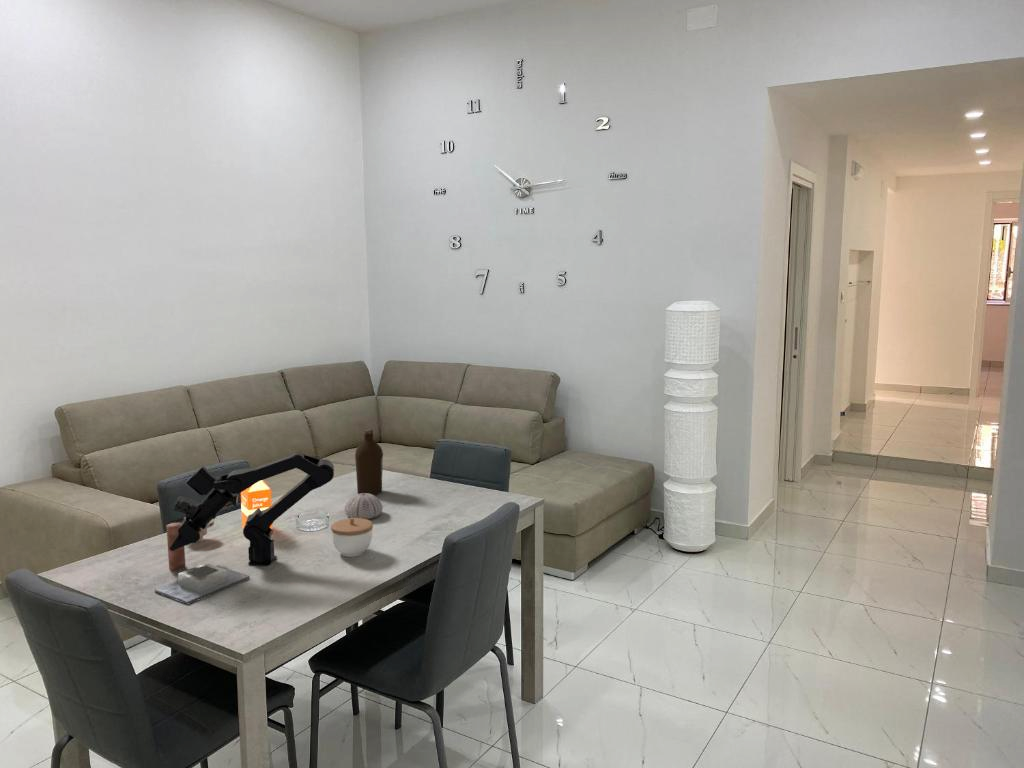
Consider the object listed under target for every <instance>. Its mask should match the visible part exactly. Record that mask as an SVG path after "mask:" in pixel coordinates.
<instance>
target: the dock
mask: <svg viewBox="0 0 1024 768" xmlns="http://www.w3.org/2000/svg"><path fill="white" fill-rule="evenodd" d="M247 579H248V580H250V579H251V578H250V575H247V574H245V573H242V572H238V571H235V570H232V569H229V568H226V567H223V566H221V565H218V564H217V565H214V564H210V563H208V562H205V563H202V564H199V565H197V566H194V567H192V568H189V569H187V570H184V571H183V570H182V571H181V572H179V573H177V580H176V581H173V582H171V583H168V584H166V585H163V586H160V587H158V588H155V589H154V593H155V592H157V593H156V594H158V593H159V594H158V595H161V594H163V595H165V596H164V597H166V596H168V597H167V598H169V597H170V598H169V599H171V598H174V599H177V600H179V601H182V602H184V603H186V604H185V605H187V604H188V603H190V604H192V603H191V602H193V601H195V602H197V601H196V600H198V599H200V600H202V599H205V598H207V597H209V595H210V596H211V595H214V594H216V593H219V592H222V591H224V590H226V589H228V588H230V587H233V586H235V585H238V584H240V583H242V582H245V581H248V580H247ZM163 595H162V596H163ZM204 597H205V598H204ZM201 598H202V599H201ZM174 599H173V600H174ZM179 601H178V602H179ZM198 601H199V600H198ZM182 602H181V603H182ZM184 603H183V604H184ZM193 603H194V602H193ZM188 605H189V604H188Z"/></svg>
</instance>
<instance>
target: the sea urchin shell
mask: <svg viewBox="0 0 1024 768" xmlns="http://www.w3.org/2000/svg"><path fill="white" fill-rule="evenodd" d="M344 512H345V515H346V516H347V518H362V519H367V520H371V519H374V518H377V517H379V516H380V515H381V514H382V512H383V505H382V502H381V500H380V499H379V498H378V497H377V495H372V494H368V493H361V494H358V493H357V494H356V495H353V496H352V497H351V498H349V500H347V502H346V504H345V506H344Z"/></svg>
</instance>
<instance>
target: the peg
mask: <svg viewBox="0 0 1024 768" xmlns="http://www.w3.org/2000/svg"><path fill="white" fill-rule="evenodd" d="M182 523H183V522H171V523H169V524H166V537H167V539H166V540H167V541H166V542H167V555H168V570H169V569H170V570H169V571H172V570H177V571H180V570H179V569H182V570H183V568H184V569H185V568H186V554H185V553H186V551H185V546H183V547H181V548H178V549H176V550H173V551H171V550H170V549H169V548H170V547H171V545H172V544H173V542H174V541H175V539H176V538H177V537H178V535H179V534H178V528H179V526H180V525H181V524H182Z"/></svg>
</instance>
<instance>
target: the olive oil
mask: <svg viewBox="0 0 1024 768" xmlns="http://www.w3.org/2000/svg"><path fill="white" fill-rule="evenodd" d="M373 432H374V430H373V429H372V428H371V429H370V428H367V429H365V430H364V435H363V436H364V440H362V442H360V444H359V445H357V448H356V450H355V453H354V458H355V459H354V460H355V470H356V471H355V472H356V488H357V495H358V494H361V493H368V494H372V495H374V496H378V495H381V493H383V467H384V466H383V462H384V452H383V449H382V447H381V446H380V445H379V443H377V441H375V440H374V433H373Z"/></svg>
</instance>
